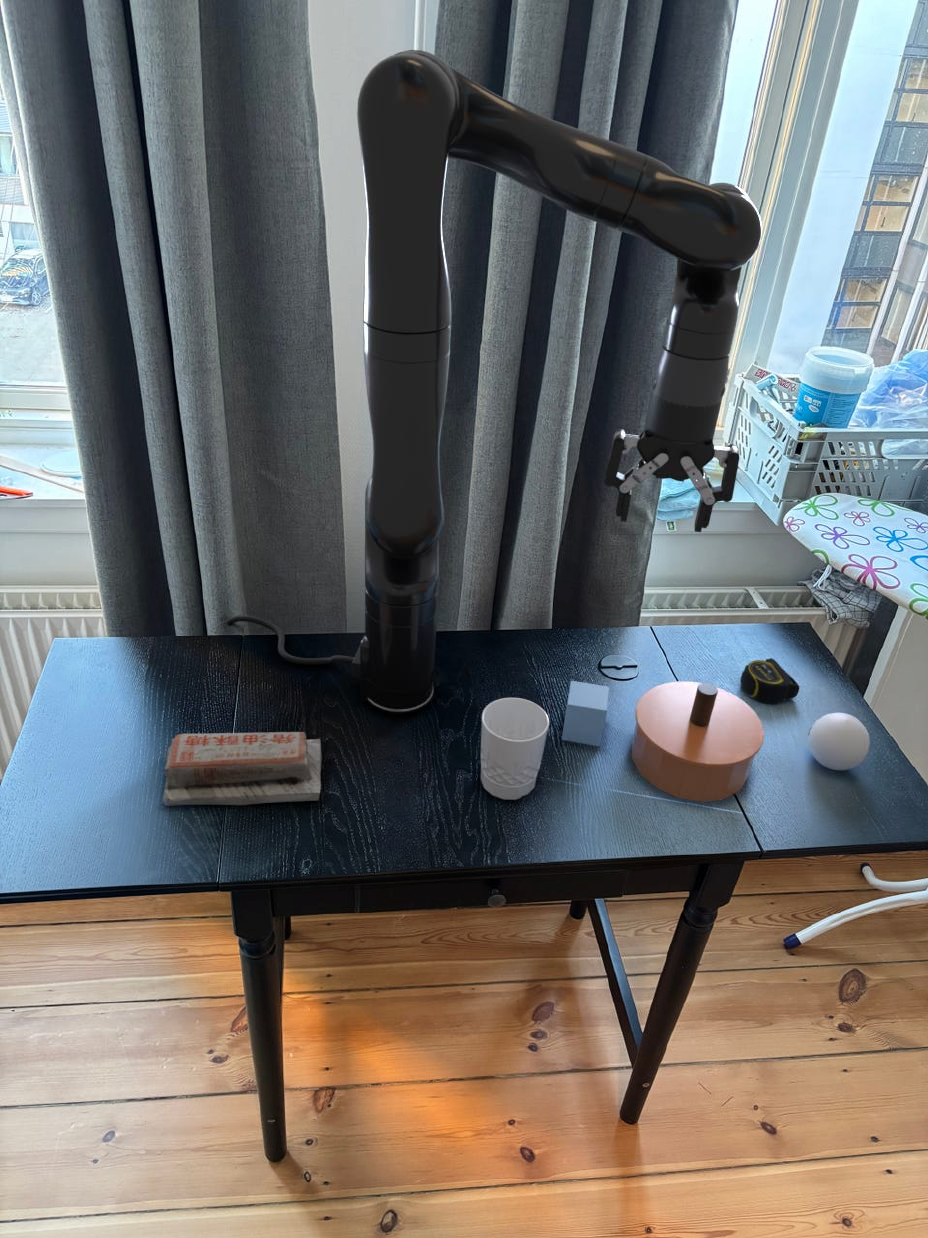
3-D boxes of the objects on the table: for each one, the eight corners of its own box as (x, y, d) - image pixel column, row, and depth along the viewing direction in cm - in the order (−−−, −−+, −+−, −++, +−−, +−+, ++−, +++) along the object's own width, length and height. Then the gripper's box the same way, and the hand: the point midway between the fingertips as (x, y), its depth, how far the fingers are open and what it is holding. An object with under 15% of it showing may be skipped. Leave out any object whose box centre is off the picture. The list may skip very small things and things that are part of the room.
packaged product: (157, 778, 107) (169, 720, 116) (162, 809, 110) (174, 750, 118) (320, 773, 110) (320, 716, 118) (321, 803, 112) (321, 745, 121)
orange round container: (628, 792, 117) (637, 753, 113) (633, 717, 129) (641, 679, 125) (749, 813, 115) (762, 774, 112) (743, 735, 127) (754, 697, 124)
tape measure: (797, 704, 133) (804, 683, 131) (754, 711, 132) (761, 690, 129) (770, 675, 139) (776, 654, 137) (729, 681, 137) (735, 660, 135)
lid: (631, 758, 113) (640, 719, 110) (636, 679, 126) (644, 641, 123) (766, 781, 112) (779, 742, 108) (757, 698, 124) (769, 661, 121)
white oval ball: (870, 782, 121) (888, 739, 117) (814, 783, 121) (830, 739, 116) (839, 730, 129) (855, 687, 125) (786, 730, 129) (800, 687, 125)
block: (561, 743, 124) (567, 704, 120) (564, 718, 128) (570, 680, 124) (599, 749, 123) (607, 710, 120) (602, 724, 127) (609, 686, 124)
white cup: (495, 812, 113) (502, 748, 107) (464, 769, 119) (470, 707, 113) (552, 792, 116) (561, 730, 111) (519, 752, 122) (527, 690, 116)
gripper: (753, 386, 104) (721, 517, 113) (622, 369, 106) (601, 500, 115) (757, 411, 98) (723, 548, 107) (618, 394, 100) (596, 530, 109)
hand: (660, 523), depth 111 cm, fingers open, 8 cm apart
